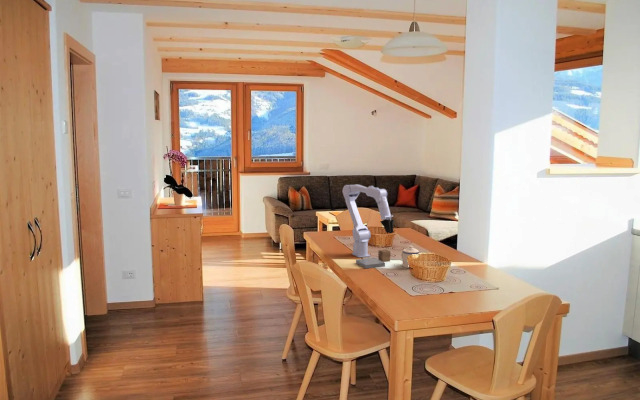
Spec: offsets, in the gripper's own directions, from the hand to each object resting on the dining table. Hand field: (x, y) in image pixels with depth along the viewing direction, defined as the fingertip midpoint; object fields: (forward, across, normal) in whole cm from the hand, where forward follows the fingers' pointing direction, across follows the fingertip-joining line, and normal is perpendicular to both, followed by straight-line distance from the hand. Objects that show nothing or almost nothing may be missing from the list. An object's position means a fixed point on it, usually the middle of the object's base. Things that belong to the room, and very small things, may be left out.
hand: (390, 232), depth 276 cm
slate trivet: (+15, -1, +15) cm, 21 cm away
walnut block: (+14, +11, +10) cm, 20 cm away
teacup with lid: (+20, +5, -5) cm, 21 cm away
